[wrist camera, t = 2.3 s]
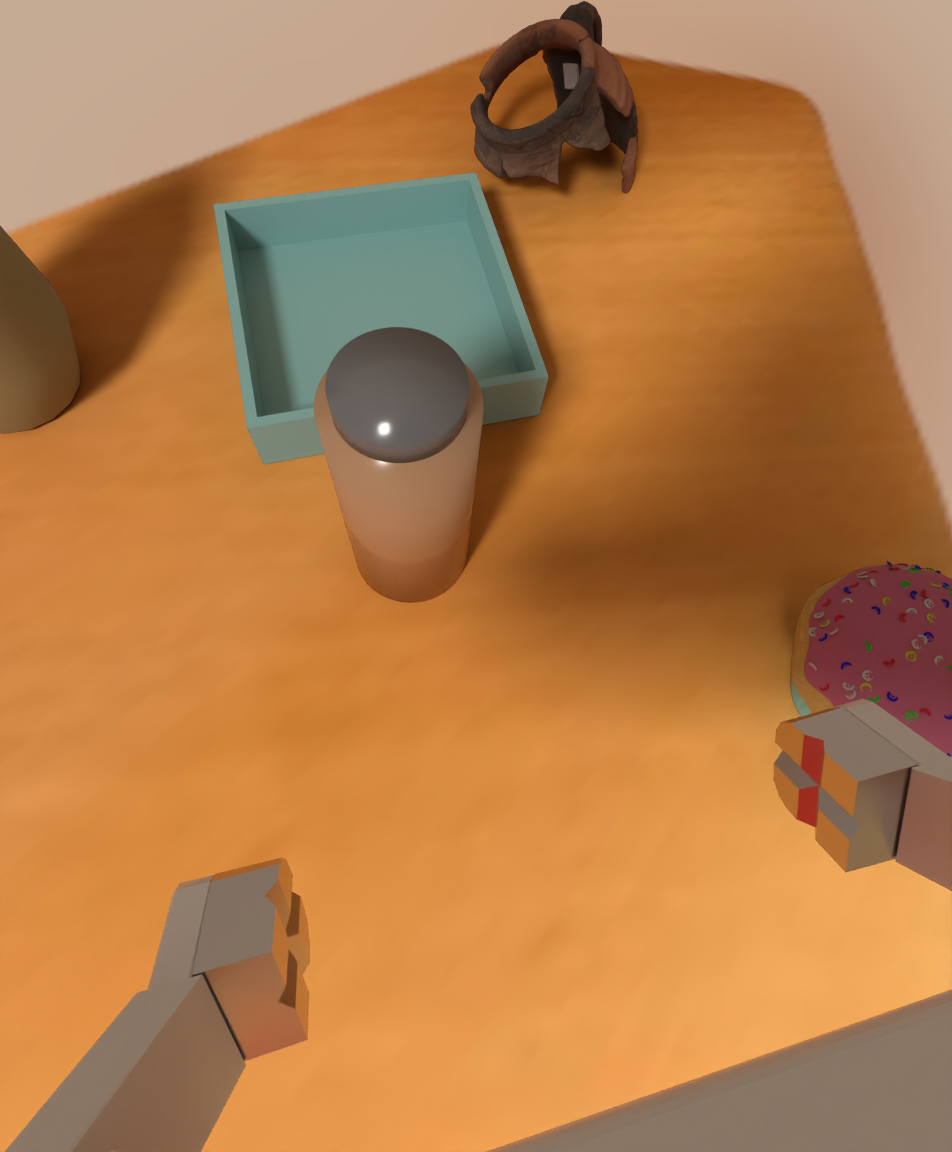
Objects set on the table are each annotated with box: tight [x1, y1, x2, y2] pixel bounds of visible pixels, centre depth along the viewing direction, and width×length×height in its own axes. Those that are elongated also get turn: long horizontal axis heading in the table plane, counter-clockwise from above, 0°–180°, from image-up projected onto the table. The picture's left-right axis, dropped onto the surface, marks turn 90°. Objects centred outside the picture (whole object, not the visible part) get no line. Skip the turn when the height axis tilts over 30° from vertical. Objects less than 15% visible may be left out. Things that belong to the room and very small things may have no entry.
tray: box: [214, 173, 549, 464], centre depth 33 cm, size 14×14×3 cm
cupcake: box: [791, 561, 952, 757], centre depth 23 cm, size 9×8×12 cm
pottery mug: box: [471, 1, 638, 193], centre depth 38 cm, size 12×10×8 cm
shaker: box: [314, 327, 484, 603], centre depth 24 cm, size 5×5×12 cm
